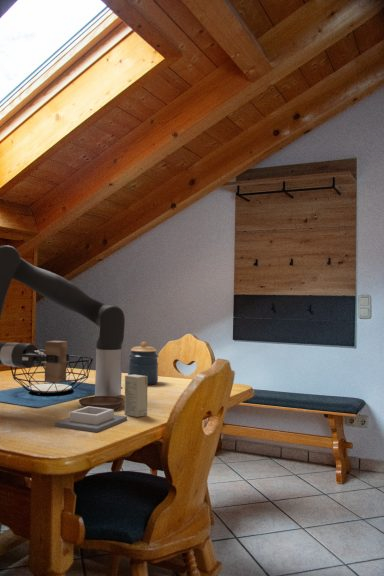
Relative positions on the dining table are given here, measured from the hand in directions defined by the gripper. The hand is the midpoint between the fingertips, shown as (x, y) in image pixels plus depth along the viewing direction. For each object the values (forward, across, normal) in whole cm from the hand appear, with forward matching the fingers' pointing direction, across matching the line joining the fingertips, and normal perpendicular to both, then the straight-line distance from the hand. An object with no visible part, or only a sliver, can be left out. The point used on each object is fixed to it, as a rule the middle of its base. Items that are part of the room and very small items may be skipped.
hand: (63, 358), depth 154 cm
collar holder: (+12, -2, +18) cm, 21 cm away
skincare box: (+18, +13, +18) cm, 29 cm away
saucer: (+3, +17, +18) cm, 25 cm away
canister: (-8, +66, +18) cm, 69 cm away
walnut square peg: (-3, 0, +7) cm, 8 cm away
